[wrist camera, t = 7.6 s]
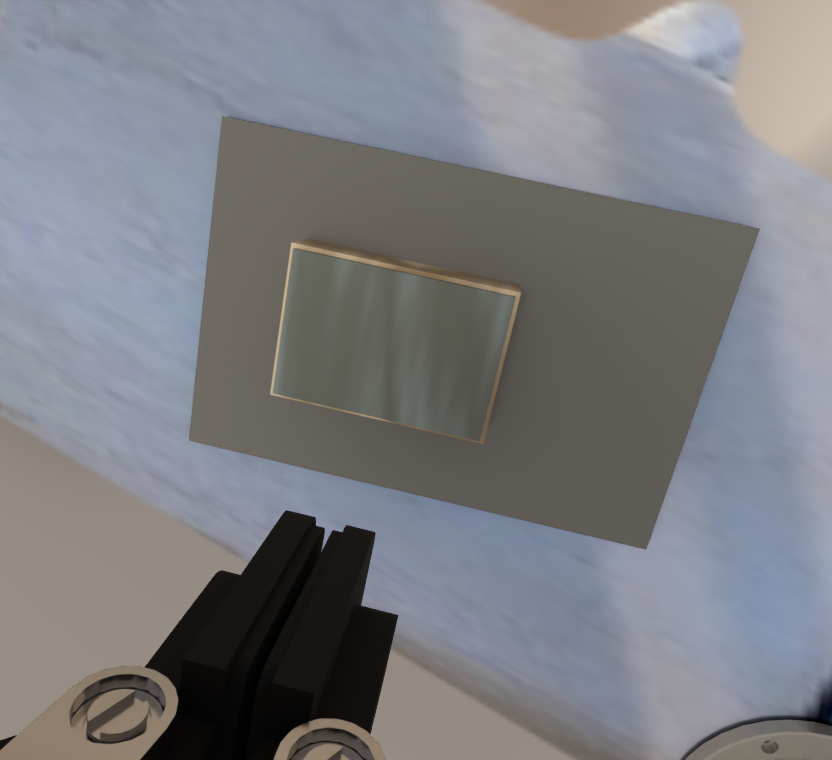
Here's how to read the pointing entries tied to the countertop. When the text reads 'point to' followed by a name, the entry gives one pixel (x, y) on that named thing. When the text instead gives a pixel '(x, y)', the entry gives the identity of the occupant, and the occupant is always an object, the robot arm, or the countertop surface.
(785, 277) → the countertop surface
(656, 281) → the mat
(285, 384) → the card box
